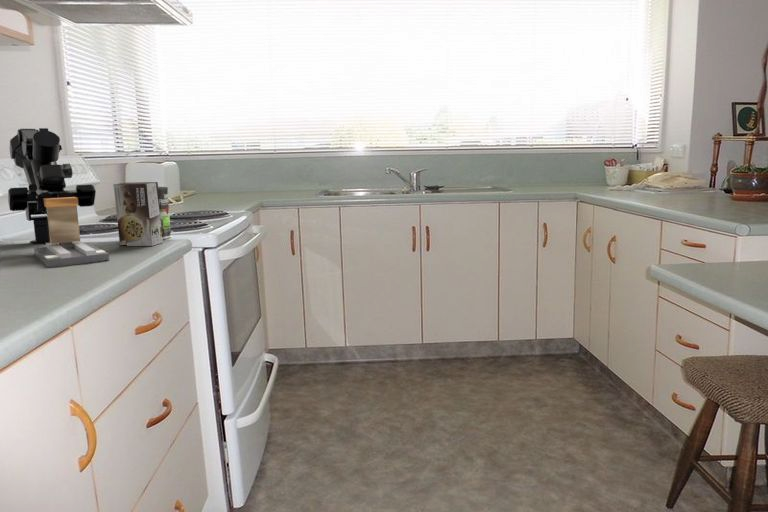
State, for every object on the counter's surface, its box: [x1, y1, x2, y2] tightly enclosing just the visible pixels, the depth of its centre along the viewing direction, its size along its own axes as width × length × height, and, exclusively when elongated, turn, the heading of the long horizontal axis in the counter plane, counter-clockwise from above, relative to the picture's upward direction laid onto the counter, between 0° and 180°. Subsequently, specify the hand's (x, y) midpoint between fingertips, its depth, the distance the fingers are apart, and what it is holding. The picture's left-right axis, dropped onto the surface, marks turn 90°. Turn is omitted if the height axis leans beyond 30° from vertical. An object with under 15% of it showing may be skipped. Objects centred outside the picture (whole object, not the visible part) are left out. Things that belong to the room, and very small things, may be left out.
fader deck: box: [33, 240, 110, 268], centre depth 138 cm, size 20×12×3 cm, turn 37°
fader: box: [44, 197, 81, 248], centre depth 141 cm, size 4×7×12 cm, turn 127°
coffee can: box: [158, 186, 172, 240], centre depth 166 cm, size 10×10×14 cm
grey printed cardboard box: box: [112, 181, 164, 247], centre depth 155 cm, size 9×6×16 cm
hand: (60, 223), depth 144 cm, fingers closed
